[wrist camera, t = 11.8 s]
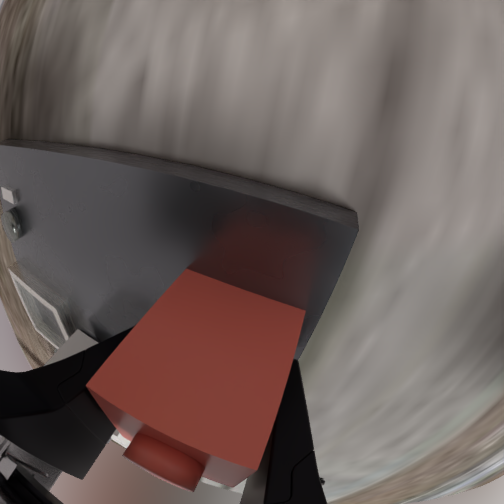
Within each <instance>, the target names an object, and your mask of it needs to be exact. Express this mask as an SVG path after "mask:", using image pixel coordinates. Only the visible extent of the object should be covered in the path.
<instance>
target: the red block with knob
mask: <svg viewBox="0 0 504 504" xmlns="http://www.w3.org/2000/svg"><path fill="white" fill-rule="evenodd" d="M305 312H306V311H305V310H302V309H299V308H296V307H293V306H290V305H287V304H284V303H281V302H278V301H275V300H272V299H269V298H266V297H264V296H261V295H258V294H255V293H252V292H249V291H246V290H243V289H241V288H238V287H235V286H232V285H229V284H227V283H224V282H221V281H218V280H216V279H213V278H210V277H208V276H205V275H202V274H200V273H197V272H194V271H192V270H189V269H185V270H184V271H183V273H182V274H181V275H180V276H179V277H178V278H177V279H176V280H175V281H174V282H173V284H172V285H171V286H170V287H169V288H168V289H167V290H166V291H165V293H164V294H163V295H162V296H161V297H160V298H159V299H158V300H157V302H156V303H155V304H154V305H153V306H152V307H151V308H150V309H149V311H148V312H147V313H146V314H145V315H144V316H143V317H142V319H141V320H140V321H139V322H138V323H137V324H136V326H135V327H134V328H133V329H132V330H131V331H130V333H129V334H128V335H127V336H126V337H125V338H124V340H123V341H122V342H121V343H120V344H119V345H118V347H117V348H116V349H115V350H114V351H113V353H112V354H111V355H110V356H109V357H108V359H107V360H106V361H105V362H104V363H103V365H102V366H101V367H100V368H99V370H98V371H97V372H96V373H95V374H94V376H93V377H92V378H91V379H90V381H89V382H88V383H87V384H86V387H87V388H88V390H89V391H90V393H91V394H92V396H93V397H94V399H95V400H96V402H97V403H98V405H99V406H100V408H101V409H102V410H103V412H104V413H105V414H106V416H107V417H108V418H109V420H110V421H111V422H112V424H113V425H114V426H115V428H116V429H117V430H118V431H119V433H120V434H121V435H122V436H123V437H124V438H126V439H127V440H129V441H131V443H130V444H129V446H128V447H127V449H126V450H125V452H124V454H123V455H122V456H123V457H124V458H126V459H127V460H129V461H130V462H131V463H133V464H135V465H136V466H138V467H139V468H141V469H143V470H144V471H146V472H148V473H150V474H152V475H153V476H155V477H157V478H159V479H161V480H163V481H165V482H168V483H170V484H172V485H174V486H177V487H179V488H182V489H184V490H187V491H190V492H194V490H195V488H196V486H197V484H198V482H199V480H200V478H201V476H202V477H205V478H207V479H210V480H212V481H215V482H218V483H221V484H224V485H227V486H230V487H235V486H236V485H238V484H239V483H241V482H242V481H243V480H245V479H246V478H248V477H249V476H250V475H252V474H253V473H254V472H256V471H257V470H258V467H259V464H260V462H261V459H262V456H263V453H264V451H265V448H266V445H267V442H268V439H269V436H270V433H271V430H272V427H273V424H274V421H275V418H276V415H277V412H278V409H279V406H280V403H281V399H282V396H283V393H284V389H285V386H286V383H287V379H288V376H289V372H290V369H291V365H292V362H293V358H294V355H295V351H296V347H297V343H298V340H299V336H300V332H301V328H302V324H303V320H304V316H305Z"/></svg>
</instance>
